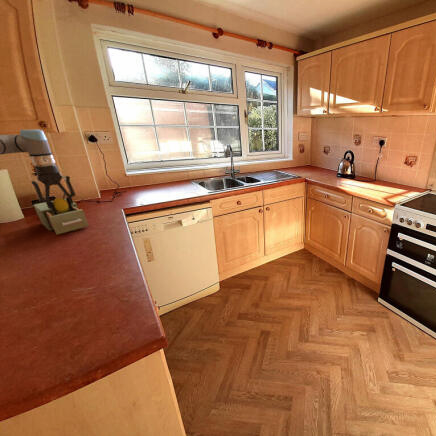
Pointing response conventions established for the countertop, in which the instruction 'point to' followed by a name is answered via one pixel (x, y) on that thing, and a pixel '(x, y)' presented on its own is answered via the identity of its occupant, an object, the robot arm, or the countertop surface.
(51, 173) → the robot arm
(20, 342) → the countertop surface
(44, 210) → the cabinet
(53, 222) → the drawer
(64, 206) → the lemon
